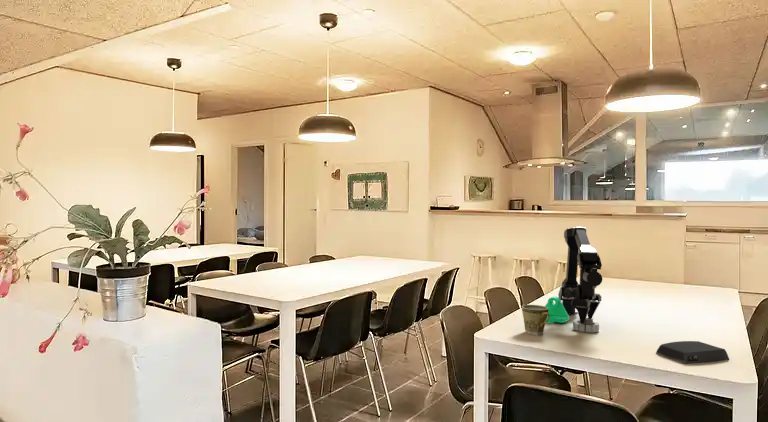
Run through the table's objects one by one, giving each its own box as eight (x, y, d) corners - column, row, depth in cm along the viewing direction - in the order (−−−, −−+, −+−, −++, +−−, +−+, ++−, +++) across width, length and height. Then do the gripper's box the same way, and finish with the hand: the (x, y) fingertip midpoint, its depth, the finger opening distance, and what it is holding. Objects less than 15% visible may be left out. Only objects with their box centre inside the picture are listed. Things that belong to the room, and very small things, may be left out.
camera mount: (534, 320, 223) (535, 296, 223) (541, 317, 229) (542, 294, 229) (562, 325, 216) (562, 300, 215) (568, 322, 222) (569, 298, 221)
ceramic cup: (515, 330, 204) (516, 305, 204) (536, 328, 208) (536, 303, 208) (537, 339, 192) (538, 312, 192) (559, 337, 196) (559, 310, 196)
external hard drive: (653, 354, 178) (654, 342, 178) (696, 350, 184) (697, 338, 184) (686, 366, 166) (687, 353, 166) (731, 361, 172) (732, 349, 172)
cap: (581, 326, 212) (581, 316, 212) (594, 328, 209) (594, 318, 208) (577, 328, 208) (577, 318, 208) (590, 331, 205) (590, 320, 205)
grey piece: (577, 325, 215) (577, 318, 215) (601, 329, 209) (601, 322, 209) (569, 329, 207) (569, 322, 207) (594, 334, 202) (594, 326, 201)
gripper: (574, 277, 220) (573, 314, 220) (558, 282, 206) (557, 321, 206) (602, 280, 213) (601, 318, 213) (587, 285, 199) (586, 326, 199)
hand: (586, 321), depth 208 cm, fingers open, 9 cm apart
